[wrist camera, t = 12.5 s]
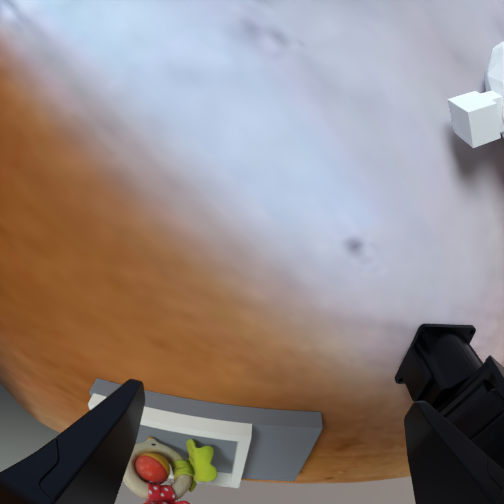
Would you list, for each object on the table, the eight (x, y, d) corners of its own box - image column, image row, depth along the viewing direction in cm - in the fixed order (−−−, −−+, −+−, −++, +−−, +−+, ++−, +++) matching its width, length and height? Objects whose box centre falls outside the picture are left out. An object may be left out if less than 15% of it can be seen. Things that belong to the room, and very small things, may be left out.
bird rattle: (154, 437, 30) (220, 480, 28) (92, 494, 21) (165, 548, 18) (160, 409, 28) (235, 457, 26) (86, 472, 19) (173, 538, 16)
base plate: (320, 411, 27) (324, 440, 24) (293, 467, 32) (294, 491, 29) (96, 378, 27) (83, 402, 24) (116, 440, 32) (108, 462, 28)
